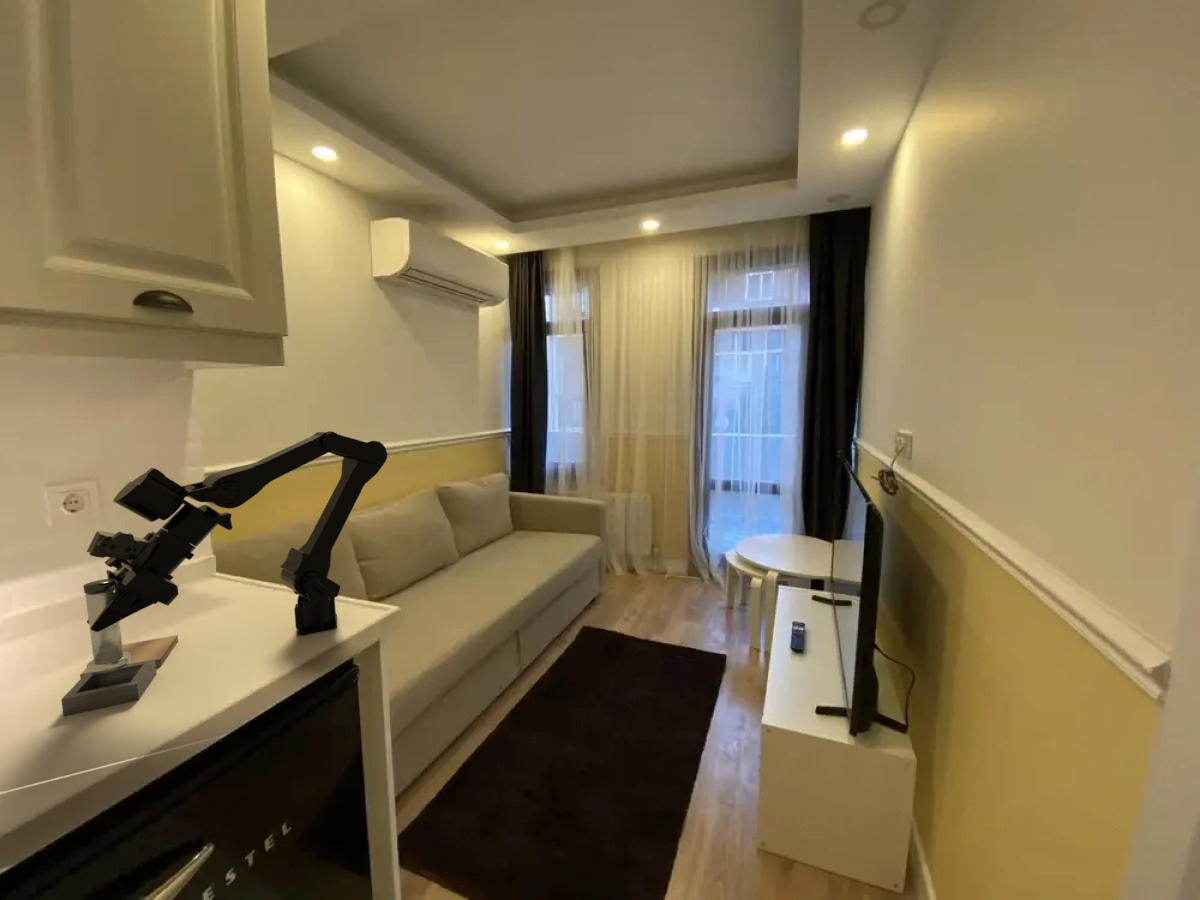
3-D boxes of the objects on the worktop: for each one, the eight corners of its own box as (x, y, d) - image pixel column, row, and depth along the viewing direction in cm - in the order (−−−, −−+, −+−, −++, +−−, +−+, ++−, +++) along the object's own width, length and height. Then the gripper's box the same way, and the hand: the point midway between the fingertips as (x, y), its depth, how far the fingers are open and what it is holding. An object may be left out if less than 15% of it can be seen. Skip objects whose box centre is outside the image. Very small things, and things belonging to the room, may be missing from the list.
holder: (156, 673, 83) (155, 659, 82) (138, 699, 75) (137, 683, 75) (88, 687, 79) (87, 672, 79) (63, 716, 72) (61, 699, 71)
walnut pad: (178, 641, 94) (177, 634, 94) (161, 665, 85) (160, 659, 85) (106, 654, 89) (105, 647, 89) (80, 681, 81) (80, 674, 81)
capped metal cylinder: (136, 655, 80) (126, 575, 79) (124, 669, 76) (114, 584, 74) (95, 662, 78) (85, 580, 76) (81, 677, 73) (70, 591, 72)
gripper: (116, 502, 83) (24, 587, 76) (140, 517, 72) (34, 620, 64) (182, 538, 90) (103, 620, 83) (213, 557, 78) (125, 654, 71)
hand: (91, 627), depth 75 cm, fingers closed on capped metal cylinder, 3 cm apart
